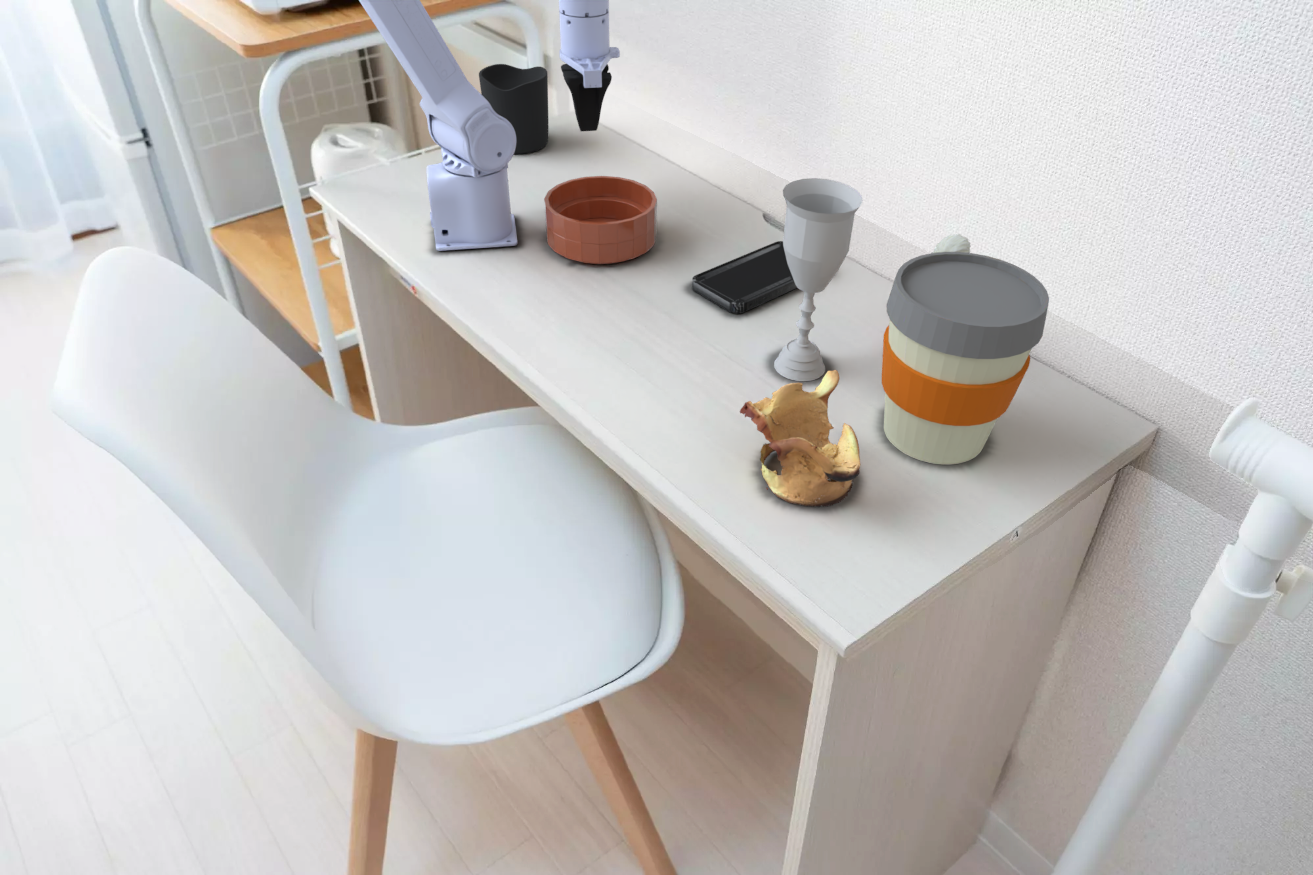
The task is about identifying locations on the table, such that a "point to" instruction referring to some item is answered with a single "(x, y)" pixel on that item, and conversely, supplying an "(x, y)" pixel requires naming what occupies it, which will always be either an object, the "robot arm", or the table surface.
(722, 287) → the phone
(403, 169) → the table surface
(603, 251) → the bowl
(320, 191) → the table surface
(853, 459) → the yellow irregular figure
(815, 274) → the chalice
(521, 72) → the pen holder
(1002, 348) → the reusable coffee cup
